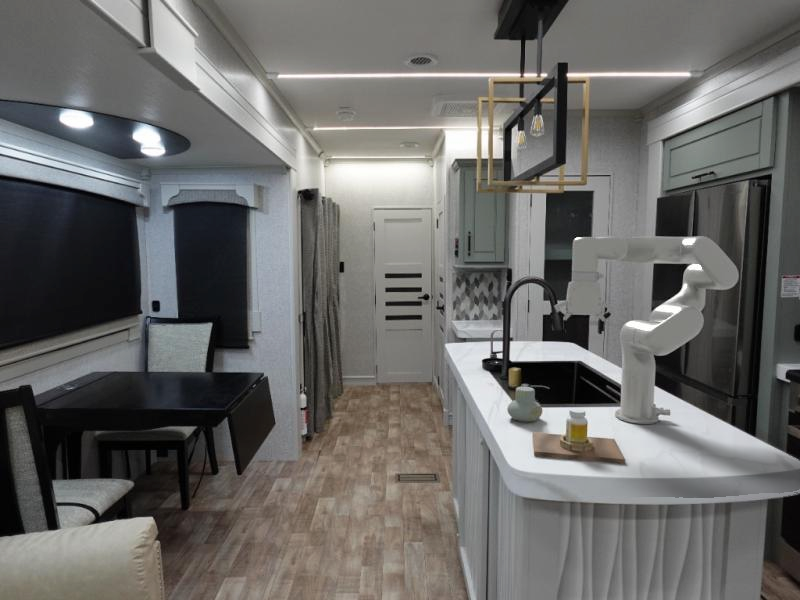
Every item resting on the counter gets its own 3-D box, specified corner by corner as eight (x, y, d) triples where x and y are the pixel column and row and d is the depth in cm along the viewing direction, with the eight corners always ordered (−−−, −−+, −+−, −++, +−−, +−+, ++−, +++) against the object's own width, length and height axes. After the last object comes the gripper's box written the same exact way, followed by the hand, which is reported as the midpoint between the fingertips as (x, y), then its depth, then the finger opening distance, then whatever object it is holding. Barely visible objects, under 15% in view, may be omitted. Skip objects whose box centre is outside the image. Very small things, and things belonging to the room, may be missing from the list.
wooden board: (614, 442, 135) (614, 433, 135) (625, 463, 121) (625, 453, 121) (532, 436, 140) (532, 427, 140) (534, 455, 127) (534, 445, 126)
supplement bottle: (561, 442, 132) (562, 408, 131) (576, 439, 134) (577, 405, 133) (576, 449, 127) (577, 414, 126) (591, 446, 130) (592, 411, 129)
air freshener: (525, 426, 148) (525, 394, 148) (503, 419, 155) (504, 389, 154) (545, 418, 155) (546, 388, 154) (524, 412, 162) (524, 383, 161)
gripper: (612, 277, 150) (610, 332, 151) (554, 277, 154) (552, 330, 155) (617, 278, 142) (615, 336, 144) (556, 278, 146) (554, 334, 148)
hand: (583, 333), depth 150 cm, fingers open, 9 cm apart
